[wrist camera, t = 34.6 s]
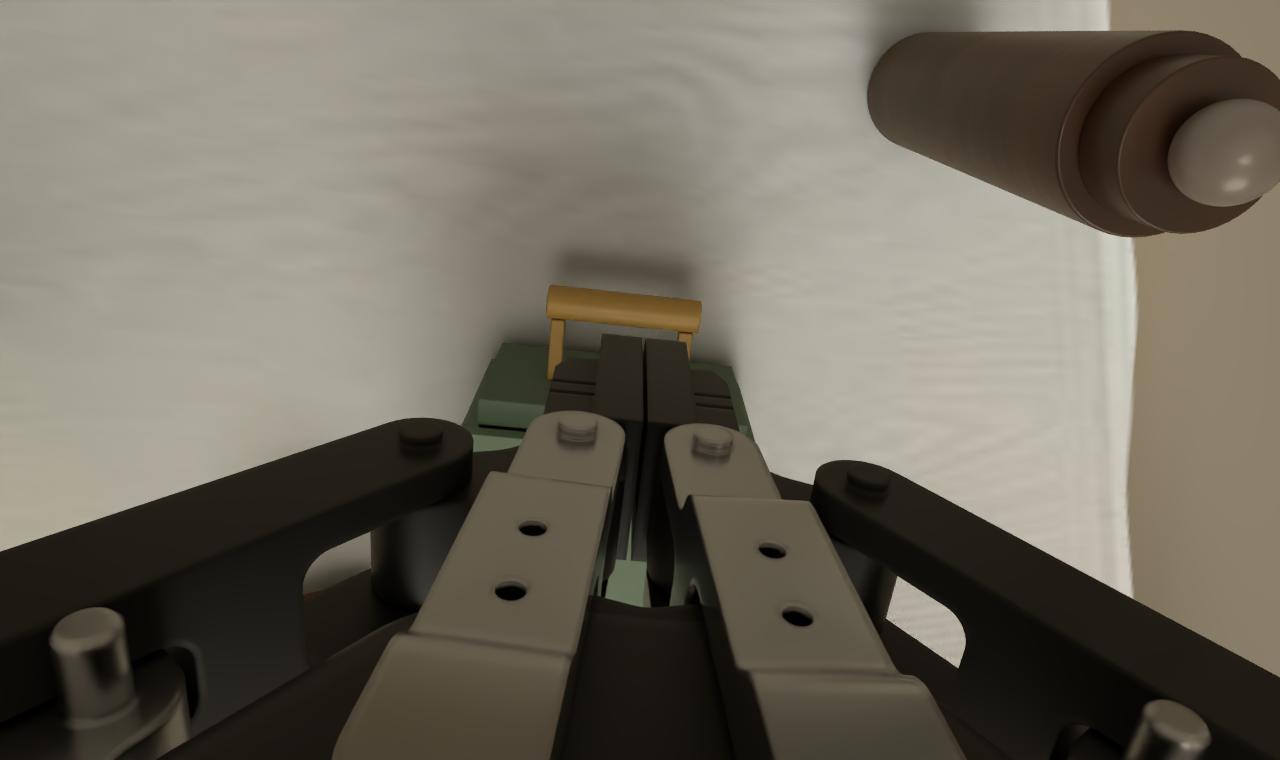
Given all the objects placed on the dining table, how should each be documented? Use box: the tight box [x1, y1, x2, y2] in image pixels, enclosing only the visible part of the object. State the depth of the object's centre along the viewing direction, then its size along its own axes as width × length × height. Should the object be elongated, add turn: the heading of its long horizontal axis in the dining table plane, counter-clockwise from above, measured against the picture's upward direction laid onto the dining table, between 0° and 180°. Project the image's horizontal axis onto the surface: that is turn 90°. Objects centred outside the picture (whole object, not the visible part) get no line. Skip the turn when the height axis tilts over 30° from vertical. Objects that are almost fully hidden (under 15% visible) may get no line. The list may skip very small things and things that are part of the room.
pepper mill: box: [868, 30, 1280, 237], centre depth 27 cm, size 5×5×22 cm
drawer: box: [477, 285, 748, 436], centre depth 39 cm, size 18×11×7 cm, turn 174°
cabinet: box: [462, 359, 755, 607], centre depth 40 cm, size 14×12×8 cm
